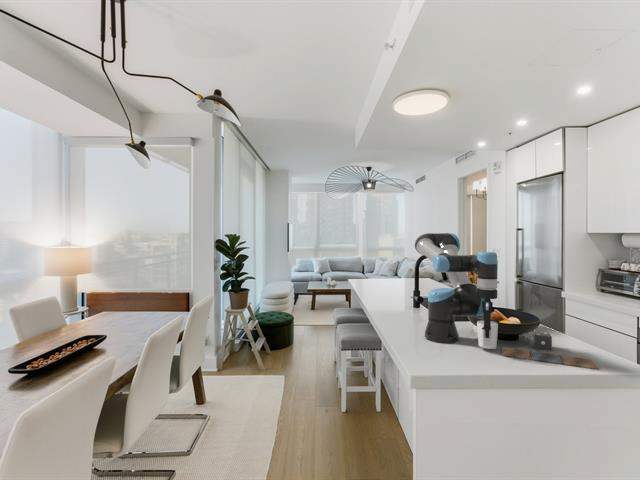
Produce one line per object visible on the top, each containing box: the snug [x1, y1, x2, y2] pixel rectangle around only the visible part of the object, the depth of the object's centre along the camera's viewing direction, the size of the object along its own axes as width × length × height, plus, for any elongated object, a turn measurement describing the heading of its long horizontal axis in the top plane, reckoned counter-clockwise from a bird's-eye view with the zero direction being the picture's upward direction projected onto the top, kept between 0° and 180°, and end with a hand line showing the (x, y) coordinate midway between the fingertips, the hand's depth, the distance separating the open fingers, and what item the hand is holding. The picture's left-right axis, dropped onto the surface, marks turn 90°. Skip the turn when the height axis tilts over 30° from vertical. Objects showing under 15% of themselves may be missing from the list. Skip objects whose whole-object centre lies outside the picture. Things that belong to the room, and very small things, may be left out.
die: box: [532, 330, 553, 352], centre depth 136 cm, size 6×6×6 cm
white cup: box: [476, 319, 499, 350], centre depth 134 cm, size 8×8×10 cm
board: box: [501, 346, 600, 371], centre depth 124 cm, size 30×10×1 cm, turn 62°
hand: (487, 342), depth 134 cm, fingers closed on white cup, 8 cm apart
